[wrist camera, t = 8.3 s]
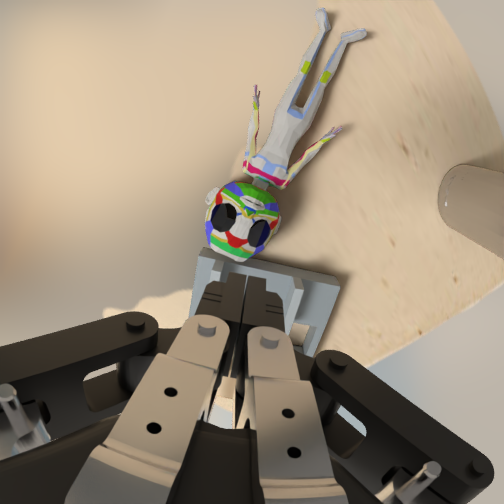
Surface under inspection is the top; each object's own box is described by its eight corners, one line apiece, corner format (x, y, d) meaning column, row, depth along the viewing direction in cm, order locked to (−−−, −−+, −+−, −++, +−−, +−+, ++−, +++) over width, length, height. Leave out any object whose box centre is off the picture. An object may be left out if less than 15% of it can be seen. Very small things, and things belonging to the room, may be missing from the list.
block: (260, 350, 40) (259, 376, 35) (251, 377, 41) (250, 402, 37) (222, 343, 39) (218, 367, 35) (216, 370, 41) (211, 395, 36)
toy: (389, 35, 25) (273, 288, 30) (363, 60, 33) (266, 266, 38) (304, -9, 23) (175, 245, 29) (293, 24, 32) (190, 231, 37)
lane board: (335, 276, 39) (346, 298, 33) (295, 379, 45) (298, 407, 39) (203, 247, 38) (193, 265, 33) (185, 358, 44) (176, 384, 39)
